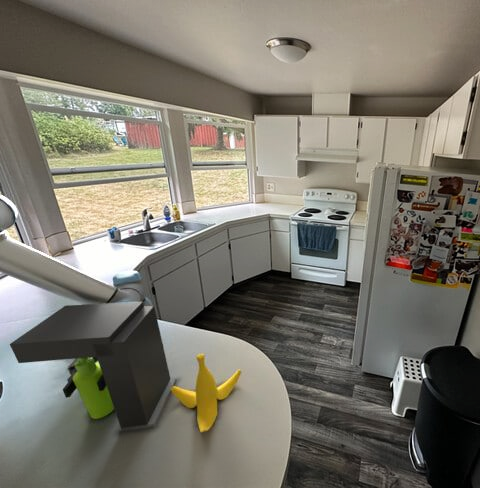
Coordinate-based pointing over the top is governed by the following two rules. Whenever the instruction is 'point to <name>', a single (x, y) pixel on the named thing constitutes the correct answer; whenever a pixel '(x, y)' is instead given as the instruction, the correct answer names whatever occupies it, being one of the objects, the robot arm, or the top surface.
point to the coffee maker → (109, 354)
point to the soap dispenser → (92, 388)
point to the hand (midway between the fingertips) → (83, 389)
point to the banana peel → (205, 394)
